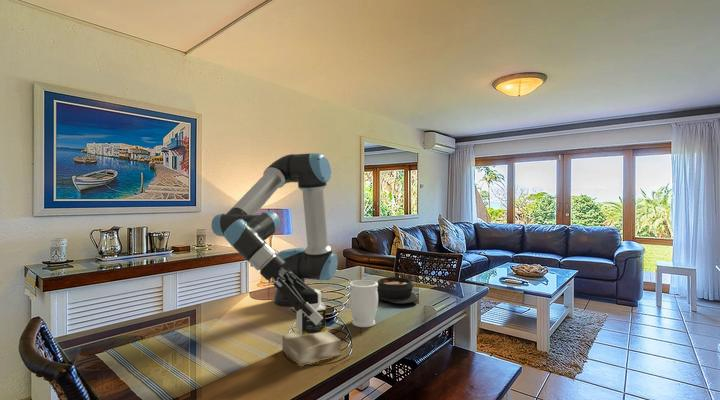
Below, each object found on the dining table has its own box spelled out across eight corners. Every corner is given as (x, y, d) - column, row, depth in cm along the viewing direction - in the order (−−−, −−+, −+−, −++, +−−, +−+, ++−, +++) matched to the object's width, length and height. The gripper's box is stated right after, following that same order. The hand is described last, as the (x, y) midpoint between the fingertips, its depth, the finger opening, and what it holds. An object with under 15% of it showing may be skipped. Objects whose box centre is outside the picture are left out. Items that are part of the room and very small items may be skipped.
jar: (364, 316, 139) (364, 278, 138) (384, 323, 131) (384, 282, 131) (343, 323, 131) (343, 282, 131) (363, 331, 124) (363, 288, 123)
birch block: (320, 341, 116) (320, 326, 116) (340, 356, 105) (340, 339, 105) (282, 351, 109) (282, 335, 109) (299, 368, 98) (299, 350, 98)
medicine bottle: (302, 336, 102) (302, 294, 102) (296, 327, 109) (296, 288, 109) (325, 332, 105) (325, 291, 105) (318, 324, 112) (318, 286, 111)
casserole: (364, 294, 169) (364, 276, 169) (398, 290, 177) (398, 273, 177) (389, 310, 146) (389, 289, 146) (427, 304, 154) (427, 285, 154)
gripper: (268, 264, 118) (316, 312, 118) (247, 280, 96) (307, 339, 96) (284, 248, 118) (333, 296, 118) (267, 260, 96) (327, 319, 96)
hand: (321, 315), depth 107 cm, fingers closed on medicine bottle, 9 cm apart
